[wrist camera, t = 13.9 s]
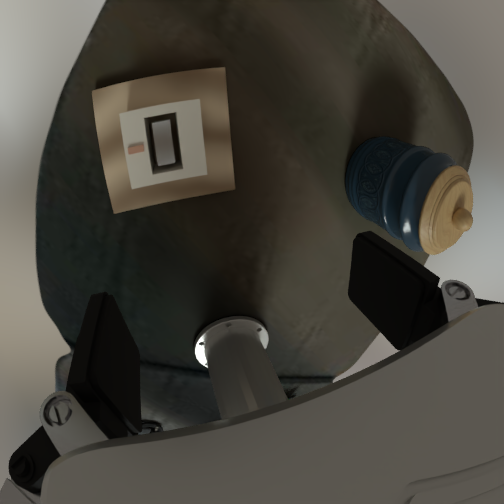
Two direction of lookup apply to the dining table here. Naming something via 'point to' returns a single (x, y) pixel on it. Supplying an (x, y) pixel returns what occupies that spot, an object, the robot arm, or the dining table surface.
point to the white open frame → (141, 147)
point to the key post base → (159, 96)
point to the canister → (410, 193)
